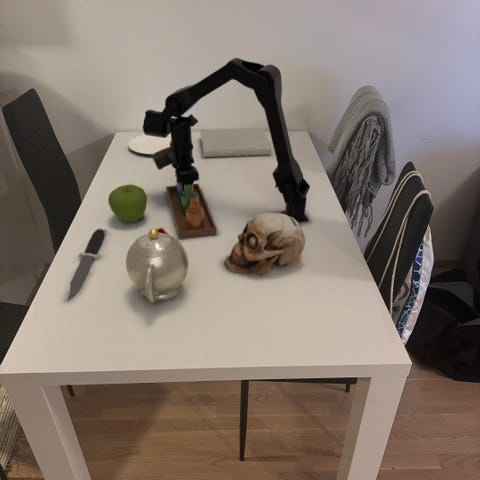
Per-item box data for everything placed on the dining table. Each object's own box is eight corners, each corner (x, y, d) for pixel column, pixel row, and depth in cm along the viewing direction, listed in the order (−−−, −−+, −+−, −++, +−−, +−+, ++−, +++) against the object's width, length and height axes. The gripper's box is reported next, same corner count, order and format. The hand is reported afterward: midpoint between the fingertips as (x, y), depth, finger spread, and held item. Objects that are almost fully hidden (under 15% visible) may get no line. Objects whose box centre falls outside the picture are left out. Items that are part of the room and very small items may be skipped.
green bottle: (199, 215, 137) (198, 187, 131) (183, 217, 136) (181, 189, 130) (197, 207, 140) (195, 180, 135) (180, 209, 139) (178, 181, 134)
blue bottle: (194, 200, 144) (193, 173, 138) (178, 202, 143) (176, 174, 137) (191, 193, 147) (190, 166, 142) (176, 194, 146) (174, 168, 141)
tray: (216, 234, 130) (216, 228, 128) (179, 239, 128) (178, 232, 127) (198, 189, 150) (198, 183, 149) (166, 192, 149) (165, 186, 147)
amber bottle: (206, 231, 130) (204, 203, 124) (188, 233, 129) (186, 205, 123) (202, 223, 133) (201, 195, 128) (185, 225, 132) (183, 196, 127)
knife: (110, 233, 130) (91, 230, 129) (110, 228, 128) (91, 225, 128) (80, 305, 108) (57, 302, 108) (79, 299, 107) (57, 296, 106)
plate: (119, 154, 171) (118, 149, 170) (141, 134, 186) (141, 130, 185) (173, 160, 167) (173, 155, 166) (192, 139, 183) (192, 135, 182)
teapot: (138, 271, 116) (129, 211, 106) (194, 273, 116) (190, 213, 105) (120, 319, 103) (107, 255, 92) (183, 322, 102) (177, 258, 92)
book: (200, 129, 180) (262, 127, 183) (200, 140, 183) (262, 137, 185) (203, 148, 167) (270, 145, 169) (203, 158, 169) (270, 156, 171)
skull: (218, 264, 118) (222, 215, 110) (260, 243, 130) (267, 196, 122) (268, 291, 111) (277, 240, 103) (307, 266, 123) (318, 218, 115)
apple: (129, 207, 141) (124, 175, 135) (157, 216, 137) (153, 183, 131) (104, 222, 134) (97, 189, 128) (132, 232, 130) (127, 199, 124)
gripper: (149, 130, 139) (155, 180, 149) (156, 154, 125) (162, 208, 135) (187, 127, 141) (190, 177, 151) (198, 151, 127) (200, 204, 137)
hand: (185, 191), depth 144 cm, fingers closed on blue bottle, 5 cm apart
